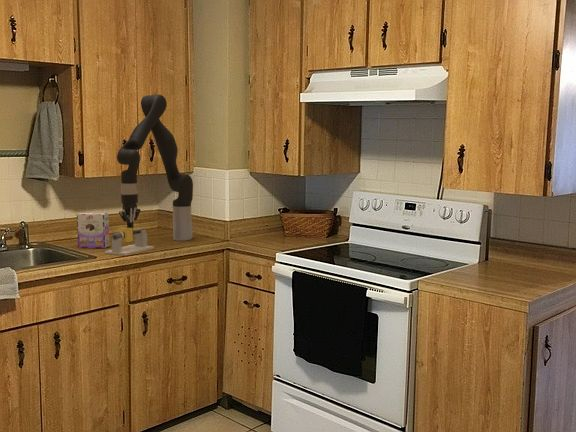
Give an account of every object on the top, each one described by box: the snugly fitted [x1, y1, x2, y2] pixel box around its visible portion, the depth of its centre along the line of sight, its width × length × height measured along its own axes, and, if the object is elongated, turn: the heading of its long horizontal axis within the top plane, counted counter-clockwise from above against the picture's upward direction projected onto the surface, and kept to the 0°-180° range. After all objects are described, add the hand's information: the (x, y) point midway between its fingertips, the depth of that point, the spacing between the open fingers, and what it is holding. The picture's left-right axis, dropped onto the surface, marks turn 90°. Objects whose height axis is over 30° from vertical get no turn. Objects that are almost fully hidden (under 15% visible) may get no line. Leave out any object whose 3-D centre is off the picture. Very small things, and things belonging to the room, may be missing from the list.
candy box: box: [76, 212, 111, 249], centre depth 328 cm, size 14×6×16 cm, turn 80°
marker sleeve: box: [117, 226, 134, 243], centre depth 316 cm, size 4×5×6 cm
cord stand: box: [104, 228, 155, 256], centre depth 319 cm, size 20×12×10 cm, turn 153°
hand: (130, 230), depth 319 cm, fingers closed
